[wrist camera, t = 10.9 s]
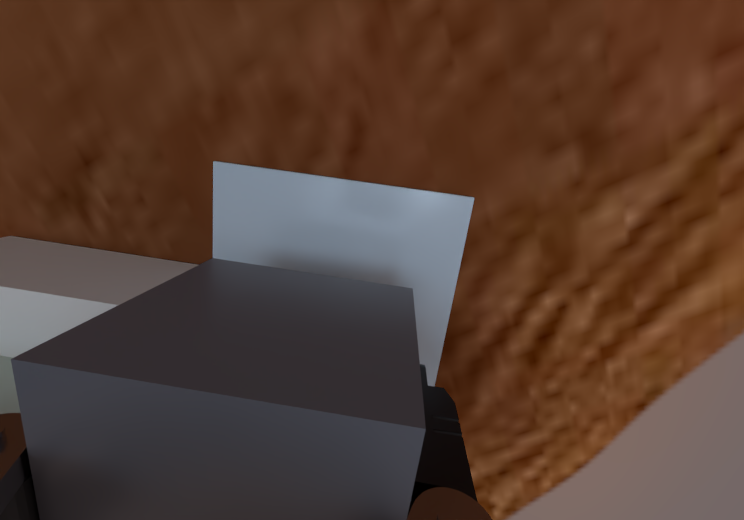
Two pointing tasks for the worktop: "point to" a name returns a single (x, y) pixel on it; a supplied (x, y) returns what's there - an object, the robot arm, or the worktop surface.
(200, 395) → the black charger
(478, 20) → the worktop surface
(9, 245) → the power strip
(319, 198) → the blue tile
